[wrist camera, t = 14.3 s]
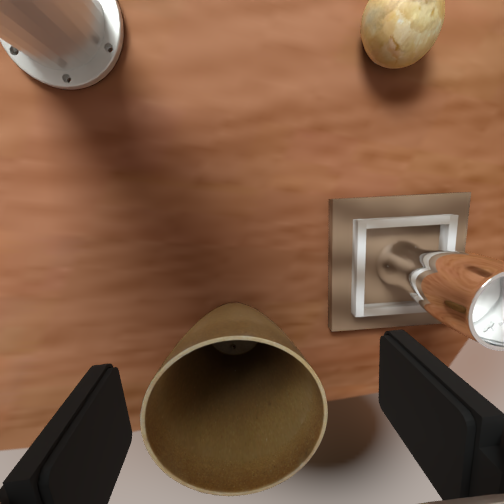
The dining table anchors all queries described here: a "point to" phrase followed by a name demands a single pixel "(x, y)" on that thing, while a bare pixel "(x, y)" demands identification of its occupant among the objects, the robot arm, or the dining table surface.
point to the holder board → (371, 244)
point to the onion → (400, 30)
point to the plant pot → (233, 406)
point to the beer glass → (450, 287)
